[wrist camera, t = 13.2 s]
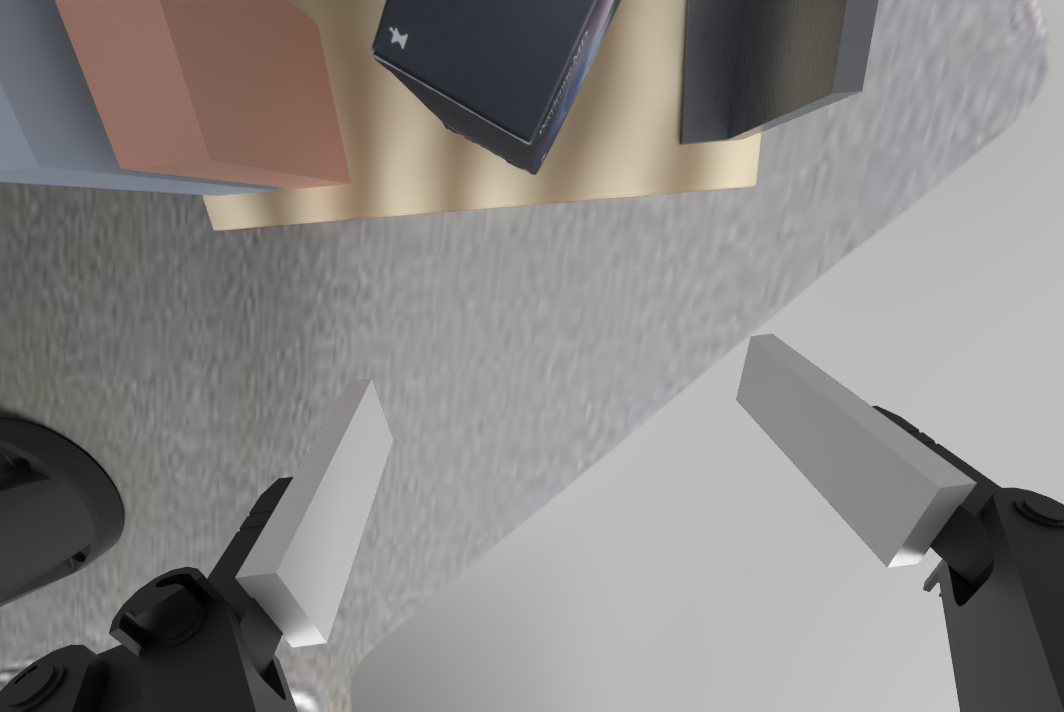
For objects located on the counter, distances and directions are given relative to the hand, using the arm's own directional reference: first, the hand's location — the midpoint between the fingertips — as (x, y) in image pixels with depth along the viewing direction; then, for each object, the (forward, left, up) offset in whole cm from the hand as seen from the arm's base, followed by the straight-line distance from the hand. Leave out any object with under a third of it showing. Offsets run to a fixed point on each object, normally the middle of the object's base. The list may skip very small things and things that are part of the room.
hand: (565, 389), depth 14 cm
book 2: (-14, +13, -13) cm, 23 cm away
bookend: (+9, +14, -13) cm, 21 cm away
